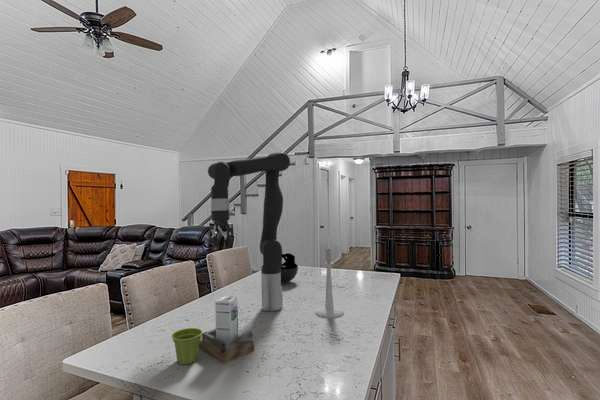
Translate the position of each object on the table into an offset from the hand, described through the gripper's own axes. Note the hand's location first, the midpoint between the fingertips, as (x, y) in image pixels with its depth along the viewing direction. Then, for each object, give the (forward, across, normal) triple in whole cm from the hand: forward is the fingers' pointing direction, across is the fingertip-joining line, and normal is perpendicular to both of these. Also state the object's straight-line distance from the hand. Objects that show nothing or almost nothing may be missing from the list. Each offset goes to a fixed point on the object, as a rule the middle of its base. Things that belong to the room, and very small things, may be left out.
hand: (221, 247), depth 134 cm
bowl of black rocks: (+33, +28, -63) cm, 76 cm away
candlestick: (+33, -28, -38) cm, 57 cm away
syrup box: (+29, -22, +14) cm, 39 cm away
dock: (+32, -19, +14) cm, 40 cm away
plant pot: (+32, -18, +27) cm, 45 cm away
